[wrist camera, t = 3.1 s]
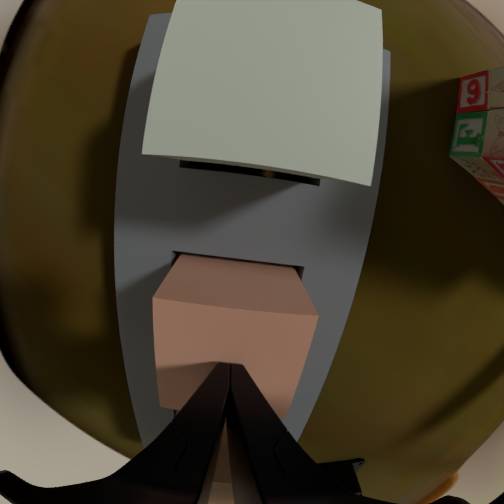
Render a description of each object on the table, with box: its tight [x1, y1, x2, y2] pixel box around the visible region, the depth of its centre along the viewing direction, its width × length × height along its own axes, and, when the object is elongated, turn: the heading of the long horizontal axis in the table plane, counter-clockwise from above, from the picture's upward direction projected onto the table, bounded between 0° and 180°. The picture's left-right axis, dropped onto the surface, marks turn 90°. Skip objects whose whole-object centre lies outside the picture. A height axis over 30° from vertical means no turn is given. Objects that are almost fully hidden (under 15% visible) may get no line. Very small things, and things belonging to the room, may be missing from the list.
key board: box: [114, 13, 390, 449], centre depth 13 cm, size 27×11×2 cm, turn 172°
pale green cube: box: [142, 0, 383, 186], centre depth 7 cm, size 5×5×5 cm
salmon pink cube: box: [152, 252, 319, 419], centre depth 11 cm, size 5×5×5 cm
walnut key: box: [175, 410, 234, 504], centre depth 12 cm, size 5×5×5 cm
